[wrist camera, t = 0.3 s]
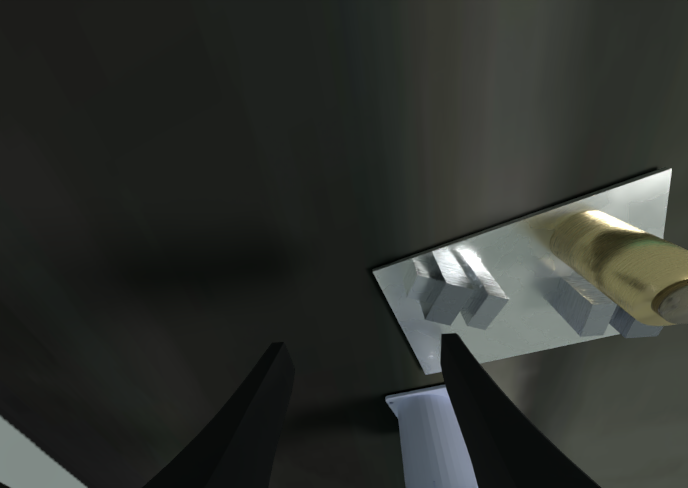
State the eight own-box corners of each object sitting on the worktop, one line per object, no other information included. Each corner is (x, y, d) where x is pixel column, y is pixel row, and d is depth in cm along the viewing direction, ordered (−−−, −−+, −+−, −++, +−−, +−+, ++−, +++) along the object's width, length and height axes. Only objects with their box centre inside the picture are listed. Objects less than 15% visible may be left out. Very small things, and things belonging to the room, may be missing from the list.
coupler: (612, 248, 18) (741, 322, 12) (551, 266, 19) (640, 343, 13) (613, 201, 17) (763, 259, 10) (546, 223, 18) (646, 288, 11)
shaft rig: (646, 323, 22) (697, 362, 19) (425, 371, 27) (433, 408, 24) (665, 167, 16) (745, 183, 12) (372, 269, 21) (374, 299, 18)
